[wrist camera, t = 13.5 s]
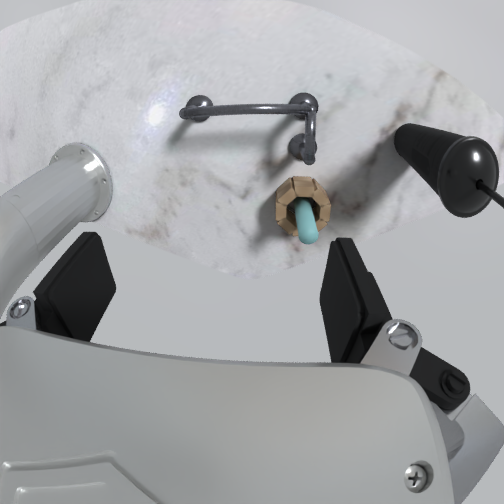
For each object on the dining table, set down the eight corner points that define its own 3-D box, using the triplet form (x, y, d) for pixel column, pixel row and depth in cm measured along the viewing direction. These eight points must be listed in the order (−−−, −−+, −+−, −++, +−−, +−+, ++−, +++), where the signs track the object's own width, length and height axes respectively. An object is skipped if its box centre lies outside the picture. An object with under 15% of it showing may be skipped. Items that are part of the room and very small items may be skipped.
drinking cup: (409, 180, 32) (497, 273, 15) (372, 142, 30) (466, 217, 13) (443, 142, 28) (549, 211, 12) (408, 100, 26) (527, 140, 9)
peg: (288, 210, 36) (291, 248, 29) (288, 187, 34) (293, 221, 27) (312, 211, 36) (322, 249, 28) (314, 188, 34) (325, 221, 26)
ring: (275, 176, 33) (276, 186, 30) (327, 177, 33) (332, 188, 30) (275, 221, 37) (275, 235, 34) (323, 222, 37) (327, 236, 34)
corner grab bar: (191, 160, 33) (175, 177, 28) (185, 96, 28) (166, 100, 23) (315, 159, 32) (325, 176, 26) (317, 93, 27) (328, 95, 22)
